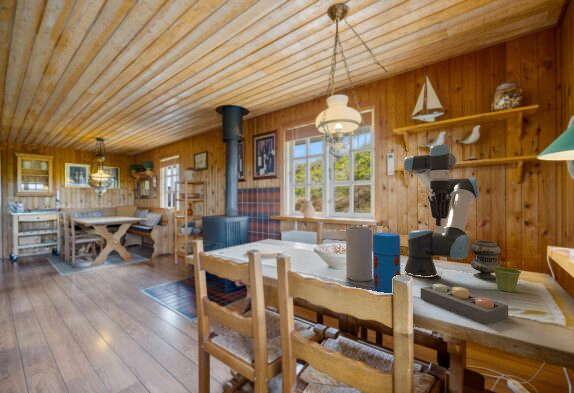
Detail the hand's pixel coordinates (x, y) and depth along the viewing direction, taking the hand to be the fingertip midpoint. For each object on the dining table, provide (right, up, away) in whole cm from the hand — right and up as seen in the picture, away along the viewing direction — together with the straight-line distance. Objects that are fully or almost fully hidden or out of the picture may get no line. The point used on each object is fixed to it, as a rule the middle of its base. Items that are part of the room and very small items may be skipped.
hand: (440, 233), depth 115 cm
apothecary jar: (+31, -24, +14) cm, 42 cm away
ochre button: (-4, -22, -20) cm, 30 cm away
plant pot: (+27, -24, -3) cm, 36 cm away
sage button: (-7, -23, -12) cm, 27 cm away
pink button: (-1, -23, -27) cm, 35 cm away
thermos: (-26, -25, -5) cm, 36 cm away
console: (-4, -25, -20) cm, 32 cm away
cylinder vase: (-32, -25, +15) cm, 43 cm away
